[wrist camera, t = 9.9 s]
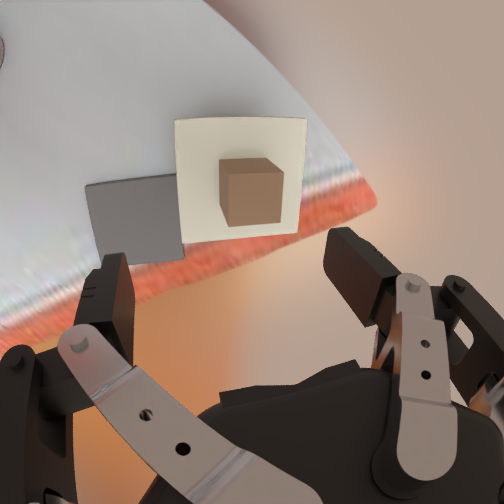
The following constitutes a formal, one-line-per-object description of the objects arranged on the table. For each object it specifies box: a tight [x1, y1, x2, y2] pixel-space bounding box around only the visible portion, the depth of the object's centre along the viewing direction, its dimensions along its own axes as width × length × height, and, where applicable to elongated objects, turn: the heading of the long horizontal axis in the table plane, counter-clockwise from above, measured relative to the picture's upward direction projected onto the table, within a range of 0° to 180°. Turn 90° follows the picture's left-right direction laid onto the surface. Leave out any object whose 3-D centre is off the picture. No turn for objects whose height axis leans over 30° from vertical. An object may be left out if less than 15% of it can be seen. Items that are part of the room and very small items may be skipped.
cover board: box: [174, 116, 307, 244], centre depth 24 cm, size 11×11×5 cm
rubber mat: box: [85, 174, 184, 265], centre depth 40 cm, size 13×13×1 cm
